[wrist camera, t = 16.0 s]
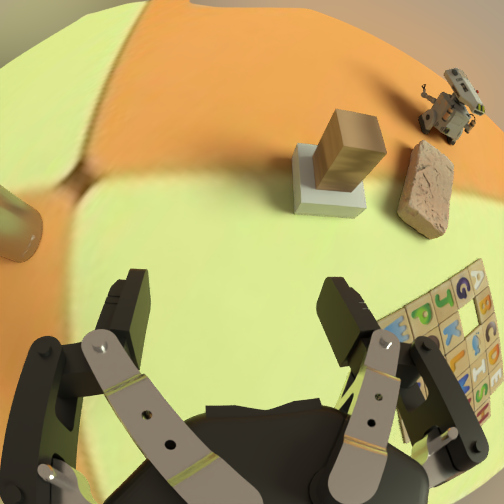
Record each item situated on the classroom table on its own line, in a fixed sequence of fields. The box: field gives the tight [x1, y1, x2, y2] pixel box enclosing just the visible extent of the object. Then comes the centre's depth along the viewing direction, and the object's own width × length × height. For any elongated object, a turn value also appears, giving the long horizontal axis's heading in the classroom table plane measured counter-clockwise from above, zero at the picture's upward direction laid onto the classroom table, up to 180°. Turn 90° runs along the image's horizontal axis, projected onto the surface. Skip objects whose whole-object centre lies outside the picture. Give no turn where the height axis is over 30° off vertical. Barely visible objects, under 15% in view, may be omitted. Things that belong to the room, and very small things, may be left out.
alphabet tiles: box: [377, 258, 504, 443], centre depth 33 cm, size 33×28×1 cm
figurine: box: [419, 68, 485, 145], centre depth 38 cm, size 9×12×15 cm
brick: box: [397, 140, 454, 239], centre depth 38 cm, size 17×8×5 cm, turn 151°
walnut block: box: [312, 109, 387, 193], centre depth 30 cm, size 5×5×10 cm
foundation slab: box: [292, 143, 367, 218], centre depth 37 cm, size 9×9×4 cm
